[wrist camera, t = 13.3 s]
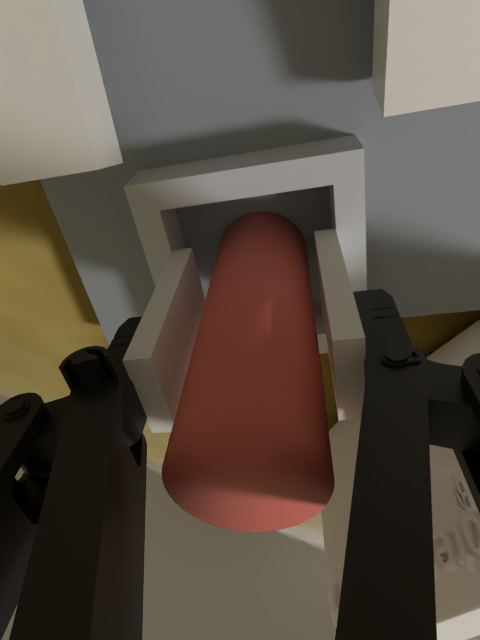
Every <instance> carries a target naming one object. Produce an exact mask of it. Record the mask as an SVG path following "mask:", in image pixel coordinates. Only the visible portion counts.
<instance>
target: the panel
mask: <svg viewBox="0 0 480 640" xmlns="http://www.w3.org/2000/svg"><path fill="white" fill-rule="evenodd" d="M83 4H84V8H85V12H86V16H87V20H88V24H89V28H90V32H91V36H92V40H93V44H94V48H95V52H96V56H97V60H98V64H99V68H100V72H101V76H102V80H103V84H104V88H105V92H106V96H107V100H108V104H109V108H110V112H111V116H112V120H113V124H114V128H115V132H116V136H117V140H118V144H119V148H120V152H121V156H122V160H123V163H121V164H117V165H114V166H110V167H106V168H103V169H99V170H93V171H87V172H81V173H76V174H70V175H64V176H58V177H52V178H46V179H40V182H41V185H42V187H43V189H44V192H45V194H46V197H47V199H48V201H49V204H50V206H51V208H52V211H53V213H54V216H55V218H56V220H57V223H58V225H59V227H60V230H61V232H62V235H63V237H64V239H65V242H66V244H67V246H68V249H69V251H70V254H71V256H72V258H73V261H74V263H75V266H76V268H77V270H78V273H79V275H80V277H81V280H82V282H83V285H84V287H85V289H86V292H87V294H88V296H89V299H90V301H91V304H92V306H93V308H94V311H95V313H96V316H97V318H98V320H99V323H100V325H101V327H102V330H103V332H104V335H105V337H106V339H107V342H108V344H109V345H110V343H111V341H112V339H114V335H115V334H116V332H117V330H118V328H119V327H120V326H121V325H122V324H123V323H124V322H125V321H126V320H127V319H128V318H132V317H141V316H143V314H144V312H145V310H146V308H147V305H148V303H149V301H150V299H151V297H152V295H153V292H154V290H155V288H156V286H157V284H158V281H159V279H160V277H161V275H162V273H163V270H164V268H165V266H166V264H167V262H168V259H169V257H170V255H171V253H172V251H173V250H178V249H186V248H192V249H193V253H194V257H195V261H196V265H197V269H198V273H199V277H200V281H201V285H202V289H203V293H204V297H205V300H206V296H207V292H208V288H209V284H210V280H211V276H212V273H213V269H214V265H215V261H216V257H217V253H218V249H219V246H220V242H221V238H222V236H223V234H224V232H225V231H226V229H227V228H228V227H229V225H230V224H231V223H233V222H234V221H235V220H236V219H238V218H239V217H241V216H243V215H246V214H249V213H252V212H259V211H266V212H273V213H277V214H280V215H282V216H284V217H286V218H288V219H289V220H291V221H292V222H293V223H294V224H295V225H296V226H297V227H298V228H299V230H300V231H301V233H302V235H303V237H304V239H305V242H306V248H307V256H308V265H309V273H310V281H311V289H312V298H313V306H314V314H315V322H316V331H317V339H318V347H319V354H323V353H328V347H327V340H326V333H325V327H324V320H323V313H322V307H321V300H320V292H319V281H318V269H317V258H316V247H315V236H314V231H320V230H327V229H335V228H336V232H337V236H338V239H339V243H340V247H341V250H342V254H343V258H344V261H345V265H346V269H347V272H348V276H349V280H350V284H351V287H352V291H353V292H356V291H365V290H374V289H383V290H384V291H386V292H387V293H388V294H390V295H391V296H392V297H393V299H394V302H395V304H396V307H397V309H398V312H399V314H400V317H401V318H405V317H415V316H425V315H435V314H445V313H455V312H465V311H475V310H480V101H477V102H471V103H465V104H459V105H453V106H447V107H441V108H435V109H429V110H424V111H418V112H412V113H406V114H400V115H394V116H388V117H383V115H382V112H381V110H380V107H379V105H378V103H377V100H376V98H375V95H374V93H373V90H372V69H373V38H374V7H375V0H83Z"/></svg>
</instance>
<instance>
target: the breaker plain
mask: <svg viewBox="0 0 480 640" xmlns="http://www.w3.org/2000/svg"><path fill="white" fill-rule="evenodd" d="M372 90H373V93H374V95H375V98H376V100H377V103H378V105H379V107H380V110H381V112H382V115H383V117H388V116H394V115H400V114H406V113H412V112H418V111H424V110H429V109H435V108H441V107H447V106H453V105H459V104H465V103H471V102H477V101H480V0H375V7H374V38H373V69H372Z"/></svg>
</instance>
